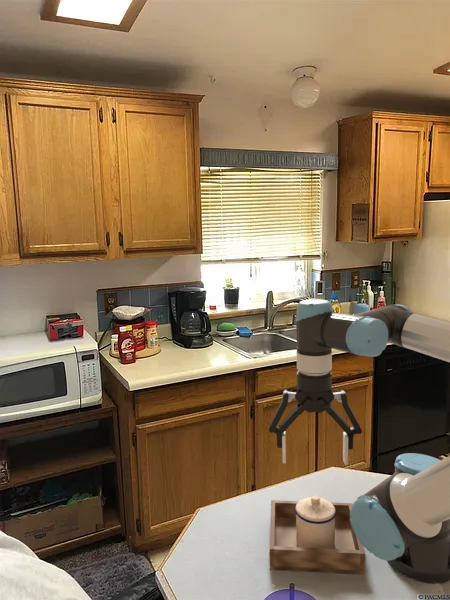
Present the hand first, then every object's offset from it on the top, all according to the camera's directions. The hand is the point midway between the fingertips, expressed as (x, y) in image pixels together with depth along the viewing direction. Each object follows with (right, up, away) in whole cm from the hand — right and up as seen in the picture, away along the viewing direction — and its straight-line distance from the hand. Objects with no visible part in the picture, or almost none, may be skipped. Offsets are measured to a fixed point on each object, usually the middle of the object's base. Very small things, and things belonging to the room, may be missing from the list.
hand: (314, 461), depth 106 cm
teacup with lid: (0, -20, +3) cm, 20 cm away
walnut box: (0, -20, +4) cm, 21 cm away
